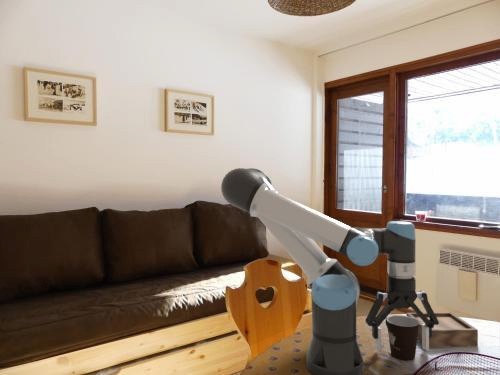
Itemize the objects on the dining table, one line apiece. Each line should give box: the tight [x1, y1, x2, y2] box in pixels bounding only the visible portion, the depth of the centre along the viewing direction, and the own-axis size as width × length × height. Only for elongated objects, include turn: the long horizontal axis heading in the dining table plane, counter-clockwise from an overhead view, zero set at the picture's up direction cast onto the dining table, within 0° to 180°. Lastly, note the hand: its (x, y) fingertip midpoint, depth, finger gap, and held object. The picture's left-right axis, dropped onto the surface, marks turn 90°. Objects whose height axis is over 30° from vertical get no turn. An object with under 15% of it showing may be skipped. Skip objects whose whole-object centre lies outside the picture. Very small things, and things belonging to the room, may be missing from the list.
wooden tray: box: [406, 311, 479, 348], centre depth 121 cm, size 15×15×5 cm
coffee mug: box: [385, 314, 419, 362], centre depth 110 cm, size 12×9×10 cm
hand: (401, 348), depth 110 cm, fingers open, 13 cm apart
